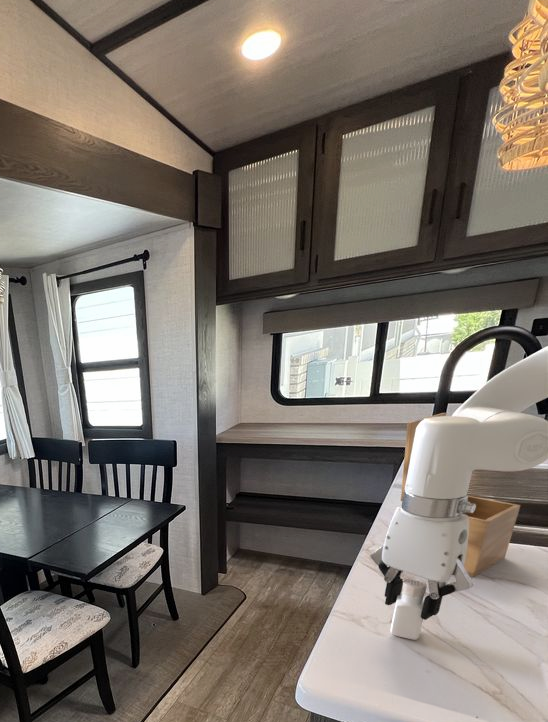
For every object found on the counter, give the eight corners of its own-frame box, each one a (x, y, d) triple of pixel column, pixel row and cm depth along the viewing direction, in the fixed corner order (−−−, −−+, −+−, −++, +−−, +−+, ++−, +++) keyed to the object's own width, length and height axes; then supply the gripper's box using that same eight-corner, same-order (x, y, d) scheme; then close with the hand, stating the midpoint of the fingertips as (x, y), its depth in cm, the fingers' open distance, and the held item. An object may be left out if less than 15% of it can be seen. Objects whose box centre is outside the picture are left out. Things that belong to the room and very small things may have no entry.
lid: (446, 412, 100) (442, 412, 101) (411, 422, 94) (407, 422, 95) (438, 487, 105) (434, 487, 106) (404, 501, 100) (400, 501, 100)
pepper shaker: (419, 629, 79) (430, 579, 75) (417, 642, 76) (429, 590, 72) (391, 623, 81) (401, 575, 77) (389, 635, 78) (399, 585, 74)
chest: (504, 558, 98) (520, 505, 94) (472, 577, 92) (487, 521, 88) (425, 537, 111) (435, 489, 106) (392, 553, 105) (402, 503, 100)
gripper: (514, 511, 64) (481, 623, 71) (388, 486, 77) (371, 583, 85) (487, 525, 60) (456, 641, 68) (361, 497, 74) (346, 596, 81)
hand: (409, 608), depth 76 cm, fingers closed on pepper shaker, 4 cm apart
